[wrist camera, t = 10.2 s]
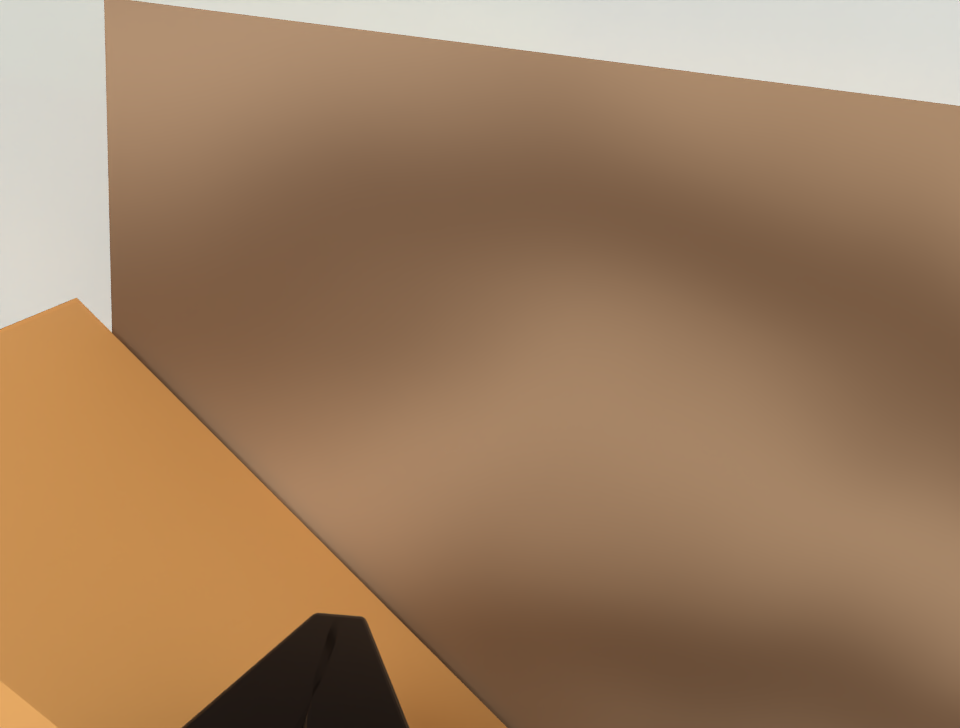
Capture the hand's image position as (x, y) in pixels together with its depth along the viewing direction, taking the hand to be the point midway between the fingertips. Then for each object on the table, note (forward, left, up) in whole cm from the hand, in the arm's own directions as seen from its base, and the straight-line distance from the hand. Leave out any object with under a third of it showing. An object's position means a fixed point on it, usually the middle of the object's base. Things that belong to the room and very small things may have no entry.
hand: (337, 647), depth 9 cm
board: (-4, -7, -6) cm, 10 cm away
